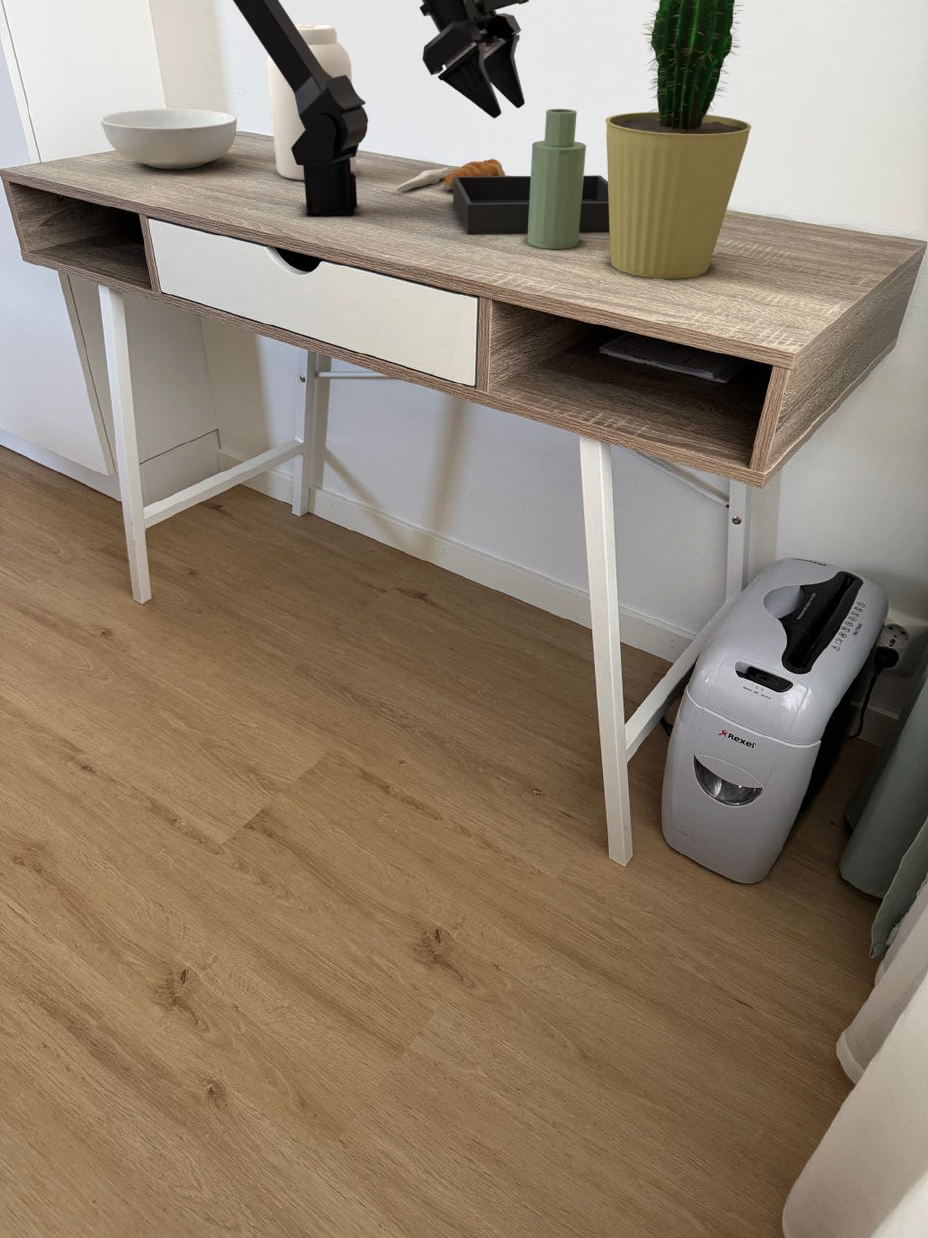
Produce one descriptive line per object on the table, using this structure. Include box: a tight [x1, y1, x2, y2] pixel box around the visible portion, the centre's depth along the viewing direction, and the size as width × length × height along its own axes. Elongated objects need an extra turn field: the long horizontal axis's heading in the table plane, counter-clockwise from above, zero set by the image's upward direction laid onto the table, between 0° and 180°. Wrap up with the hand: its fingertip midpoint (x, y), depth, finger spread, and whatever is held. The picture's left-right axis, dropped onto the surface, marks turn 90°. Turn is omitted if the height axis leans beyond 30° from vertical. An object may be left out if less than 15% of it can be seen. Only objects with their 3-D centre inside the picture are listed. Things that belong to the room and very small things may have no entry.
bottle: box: [527, 108, 587, 250], centre depth 111 cm, size 6×6×14 cm
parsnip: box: [396, 166, 449, 191], centre depth 141 cm, size 15×3×2 cm, turn 151°
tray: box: [452, 174, 610, 235], centre depth 125 cm, size 21×17×4 cm
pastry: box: [443, 158, 506, 190], centre depth 138 cm, size 9×7×4 cm
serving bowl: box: [100, 108, 238, 170], centre depth 150 cm, size 21×21×7 cm
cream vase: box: [266, 23, 357, 182], centre depth 141 cm, size 12×12×20 cm
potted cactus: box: [604, 0, 752, 279], centre depth 99 cm, size 15×15×30 cm
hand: (510, 110), depth 112 cm, fingers open, 9 cm apart
